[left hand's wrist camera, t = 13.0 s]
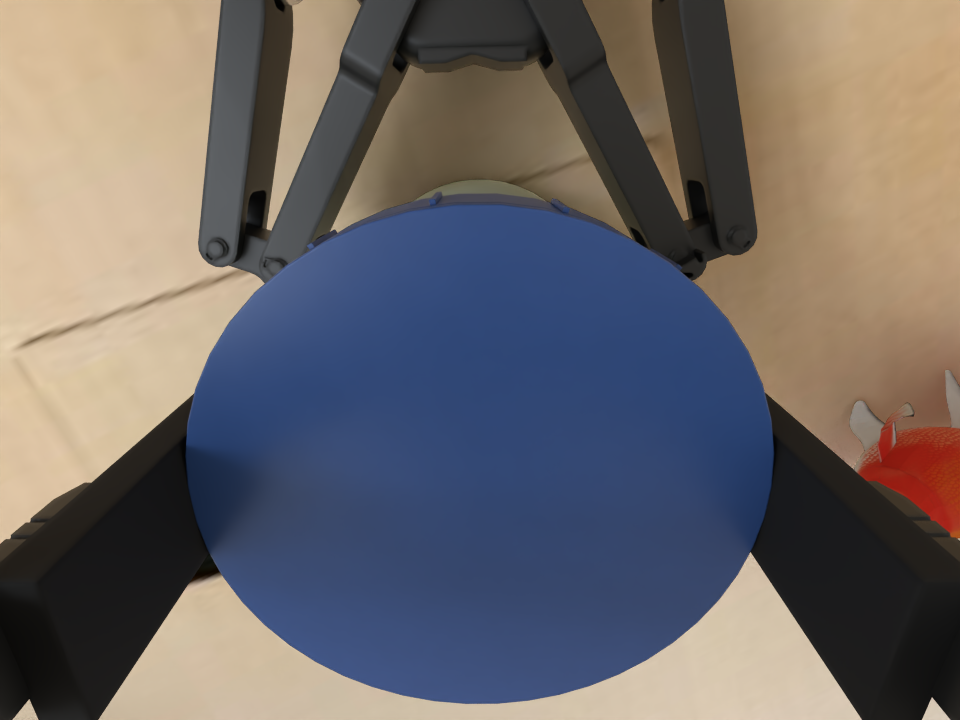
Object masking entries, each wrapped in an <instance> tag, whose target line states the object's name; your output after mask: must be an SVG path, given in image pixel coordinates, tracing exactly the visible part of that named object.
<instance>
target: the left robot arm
mask: <svg viewBox="0 0 960 720" xmlns="http://www.w3.org/2000/svg"><path fill="white" fill-rule="evenodd" d="M765 396H766V400H767V404H768V408H769V412H770V416H771V422H772V433H773V445H774V462H773V476H772V487H771V492H770V496H769V500H768V505H767V509H766V513H765V518H764V520H763V523H762V525H761V528H760V531H759V533H758V536H757V538H756V541H755V543H754V546H753V548H752V550H751V553H752V555H753V556H754V558H755V559H756V561H757V562H758V564H759V565H760V567H761V568H762V570H763V571H764V573H765V574H766V576H767V577H768V579H769V580H770V582H771V583H772V585H773V586H774V588H775V589H776V591H777V592H778V594H779V595H780V597H781V598H782V600H783V601H784V603H785V604H786V606H787V607H788V609H789V610H790V612H791V613H792V615H793V617H794V618H795V620H796V621H797V623H798V624H799V626H800V627H801V629H802V630H803V632H804V633H805V635H806V636H807V638H808V639H809V641H810V642H811V644H812V645H813V647H814V648H815V650H816V651H817V653H818V654H819V656H820V657H821V659H822V660H823V662H824V663H825V665H826V666H827V668H828V669H829V671H830V672H831V674H832V675H833V677H834V678H835V680H836V681H837V683H838V684H839V686H840V687H841V689H842V690H843V692H844V693H845V695H846V696H847V698H848V699H849V701H850V702H851V704H852V705H853V707H854V708H855V710H856V711H857V713H858V714H859V716H860V717H861V719H862V720H922V718H923V716H924V714H925V711H926V709H927V707H928V705H929V702H930V700H931V698H933V699H934V700H935V701H936V702H937V704H938V705H939V706H940V707H941V709H942V710H943V711H944V712H945V713H946V715H947V716H948V717H949V718H950V720H960V541H959V540H958V539H957V538H956V537H951V536H950V532H948V531H947V530H946V529H945V528H943V527H942V526H941V525H940V524H939V523H937V522H936V521H931V519H930V516H929V515H928V514H926V513H925V512H924V511H923V510H922V509H920V508H919V507H918V506H917V505H916V504H914V503H913V502H912V501H911V500H910V499H908V498H907V497H905V496H903V495H902V494H900V493H898V492H896V491H894V490H892V489H890V488H888V487H887V486H885V485H883V484H881V483H879V482H877V481H866V480H865V479H864V478H863V477H862V476H860V475H859V474H858V473H857V472H856V471H855V470H853V469H852V468H851V467H850V466H849V465H848V464H847V463H845V462H844V461H843V460H842V459H841V458H840V457H839V456H837V455H836V454H835V453H834V452H833V451H832V450H830V449H829V448H828V447H827V446H826V445H825V444H824V443H822V442H821V441H820V440H819V439H818V438H817V437H815V436H814V435H813V434H812V433H811V432H810V431H809V430H807V429H806V428H805V427H804V426H803V425H802V424H800V423H799V422H798V421H797V420H796V419H795V418H794V417H792V416H791V415H790V414H789V413H788V412H787V411H786V410H784V409H783V408H782V407H781V406H780V405H779V404H777V403H776V402H775V401H774V400H773V399H772V398H771V397H769V396H768V395H767V394H766V393H765ZM193 398H194V394H193V395H192V396H191V397H190V398H189V399H187V400H186V401H185V402H184V403H183V404H182V405H181V406H179V407H178V408H177V409H176V410H175V411H174V412H173V413H171V414H170V415H169V416H168V417H167V418H166V419H164V420H163V421H162V422H161V423H160V424H159V425H158V426H156V427H155V428H154V429H153V430H152V431H151V432H149V433H148V434H147V435H146V436H145V437H144V438H143V439H141V440H140V441H139V442H138V443H137V444H136V445H135V446H133V447H132V448H131V449H130V450H129V451H128V452H126V453H125V454H124V455H123V456H122V457H121V458H120V459H118V460H117V461H116V462H115V463H114V464H113V465H111V466H110V467H109V468H108V469H107V470H106V471H105V472H103V473H102V474H101V475H100V476H99V477H98V478H97V479H95V480H94V481H93V482H92V483H83V484H82V485H80V486H78V487H76V488H74V489H72V490H70V491H69V492H67V493H65V494H63V495H61V496H59V497H57V498H55V499H54V500H53V501H51V502H50V503H49V504H48V505H47V506H45V507H44V508H43V509H42V510H41V511H39V512H38V513H37V514H36V515H35V516H33V517H32V518H31V521H30V523H25V524H24V525H22V526H21V527H20V528H19V529H18V530H16V531H15V532H14V533H13V534H12V535H11V538H10V539H6V540H4V541H3V542H2V543H1V544H0V720H12V719H13V718H14V717H15V716H16V715H17V713H18V712H19V711H20V710H21V708H22V707H23V706H24V705H25V704H26V702H27V701H28V700H29V699H30V701H31V704H32V706H33V708H34V710H35V713H36V715H37V717H38V719H39V720H98V719H99V718H100V716H101V715H102V713H103V712H104V710H105V709H106V707H107V706H108V704H109V703H110V701H111V700H112V698H113V697H114V695H115V694H116V692H117V691H118V689H119V688H120V686H121V685H122V683H123V682H124V680H125V679H126V677H127V676H128V674H129V673H130V671H131V670H132V668H133V667H134V665H135V664H136V662H137V661H138V659H139V658H140V656H141V655H142V653H143V652H144V650H145V649H146V647H147V646H148V644H149V643H150V641H151V640H152V638H153V637H154V635H155V634H156V632H157V631H158V629H159V627H160V626H161V624H162V623H163V621H164V620H165V618H166V617H167V615H168V614H169V612H170V611H171V609H172V608H173V606H174V605H175V603H176V602H177V600H178V599H179V597H180V596H181V594H182V593H183V591H184V590H185V588H186V587H187V585H188V584H189V582H190V581H191V579H192V578H193V576H194V575H195V573H196V572H197V570H198V569H199V567H200V566H201V564H202V563H203V561H204V560H205V558H206V557H207V555H208V554H209V551H208V549H207V547H206V544H205V542H204V539H203V537H202V535H201V532H200V530H199V527H198V525H197V522H196V518H195V514H194V510H193V506H192V501H191V497H190V493H189V489H188V481H187V470H186V459H185V454H186V440H187V425H188V419H189V415H190V410H191V406H192V402H193Z"/></svg>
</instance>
